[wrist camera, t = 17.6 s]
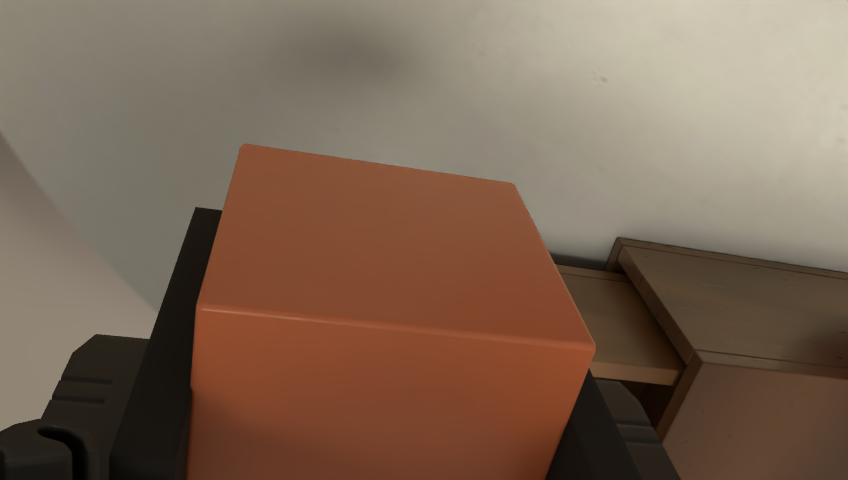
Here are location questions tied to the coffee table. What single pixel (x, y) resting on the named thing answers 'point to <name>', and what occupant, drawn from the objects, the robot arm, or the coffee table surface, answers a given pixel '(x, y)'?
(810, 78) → the coffee table surface
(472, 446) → the block
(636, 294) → the drawer
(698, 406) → the cabinet
